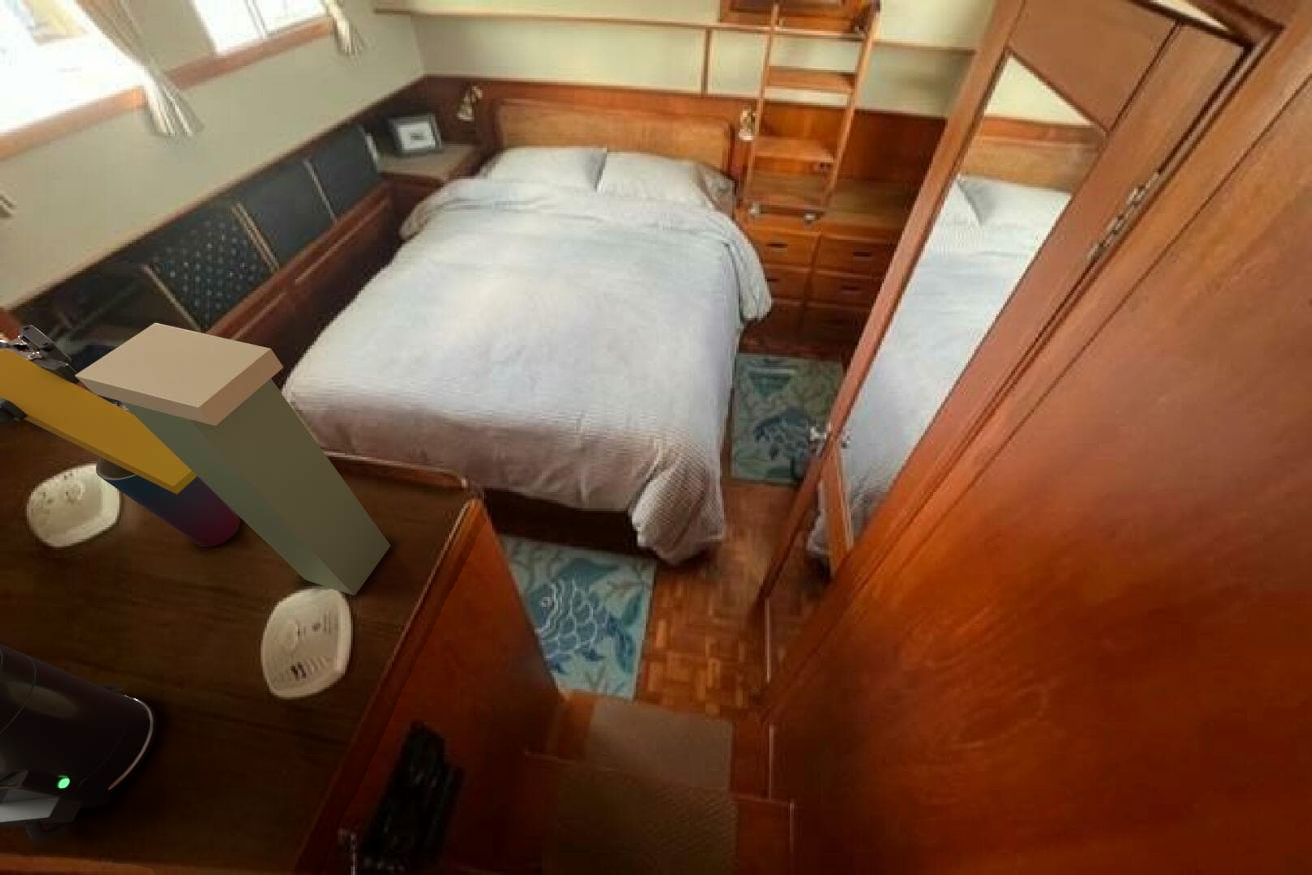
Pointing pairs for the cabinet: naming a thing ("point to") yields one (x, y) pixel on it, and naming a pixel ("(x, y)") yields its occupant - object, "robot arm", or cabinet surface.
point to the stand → (244, 446)
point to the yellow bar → (89, 422)
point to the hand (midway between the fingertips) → (43, 393)
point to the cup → (177, 504)
